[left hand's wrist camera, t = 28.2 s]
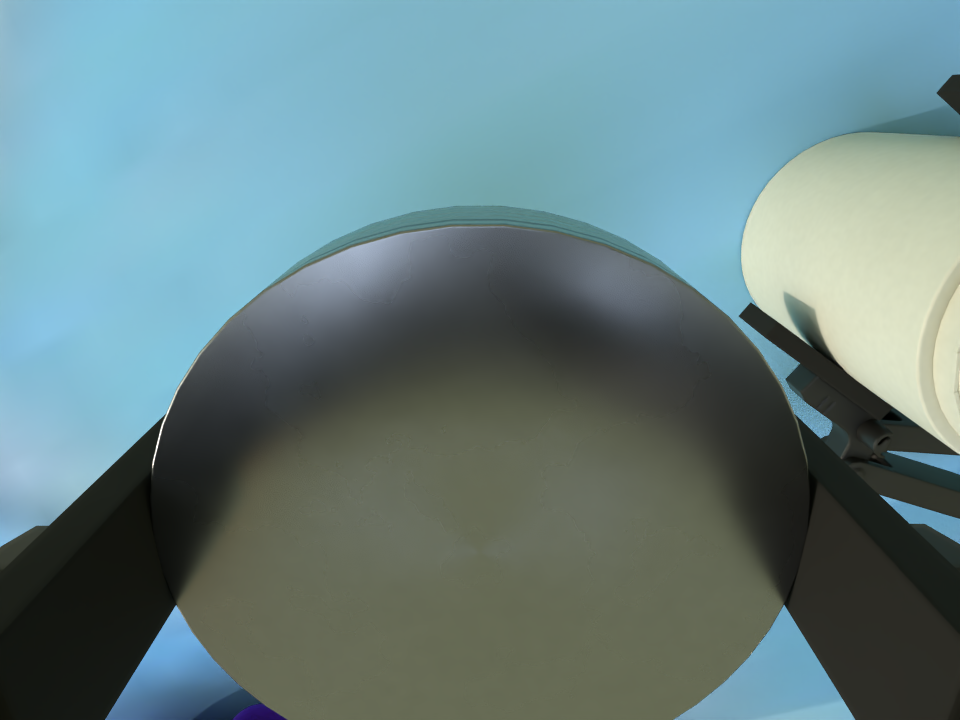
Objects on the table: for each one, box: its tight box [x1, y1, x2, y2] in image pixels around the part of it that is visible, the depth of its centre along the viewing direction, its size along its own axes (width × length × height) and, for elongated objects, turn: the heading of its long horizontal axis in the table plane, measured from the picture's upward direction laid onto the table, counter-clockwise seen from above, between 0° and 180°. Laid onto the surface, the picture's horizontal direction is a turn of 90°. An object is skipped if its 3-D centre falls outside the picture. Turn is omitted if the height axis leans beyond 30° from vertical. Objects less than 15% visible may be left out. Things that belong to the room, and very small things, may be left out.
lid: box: [150, 206, 810, 720], centre depth 11 cm, size 11×11×2 cm
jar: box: [741, 132, 960, 454], centre depth 23 cm, size 10×10×15 cm
